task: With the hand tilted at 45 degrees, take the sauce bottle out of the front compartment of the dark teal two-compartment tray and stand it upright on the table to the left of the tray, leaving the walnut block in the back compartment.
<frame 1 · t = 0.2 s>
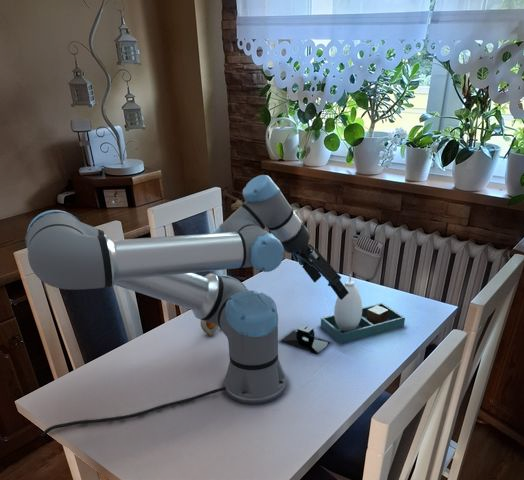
hand: (330, 287, 133), 15 cm above the table, tool tilted 35°, fingers open, 13 cm apart
sauce bottle: (346, 331, 143), resting on tray
walnut block: (376, 322, 146), resting on tray
build plate: (305, 343, 138), on the table
tray: (361, 327, 144), on the table
bird rattle: (214, 332, 145), on the table
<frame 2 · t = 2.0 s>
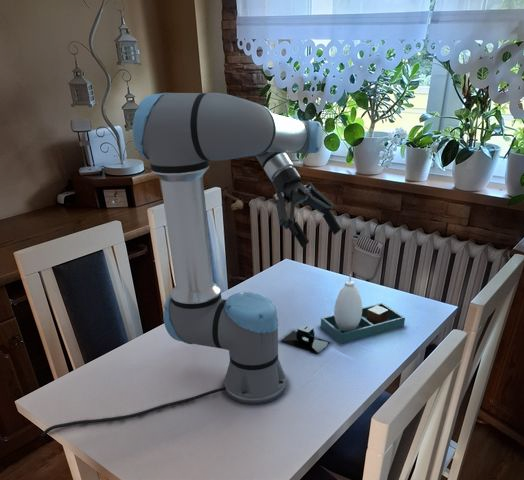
hand: (322, 238, 135), 26 cm above the table, tool tilted 45°, fingers open, 13 cm apart
nothing on the table moved.
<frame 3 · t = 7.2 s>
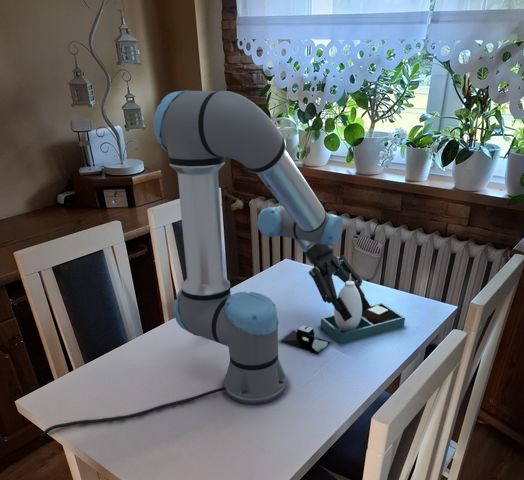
hand: (357, 313, 137), 7 cm above the table, tool tilted 45°, fingers closed on sauce bottle, 8 cm apart
sauce bottle: (346, 331, 143), resting on tray, touching gripper
everything else where it was.
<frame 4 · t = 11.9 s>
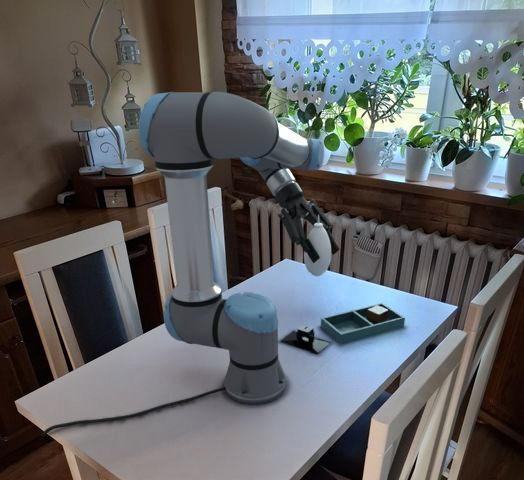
hand: (326, 256, 138), 21 cm above the table, tool tilted 45°, fingers closed on sauce bottle, 8 cm apart
sauce bottle: (317, 275, 144), point 14 cm above the table, touching gripper
everything else where it was.
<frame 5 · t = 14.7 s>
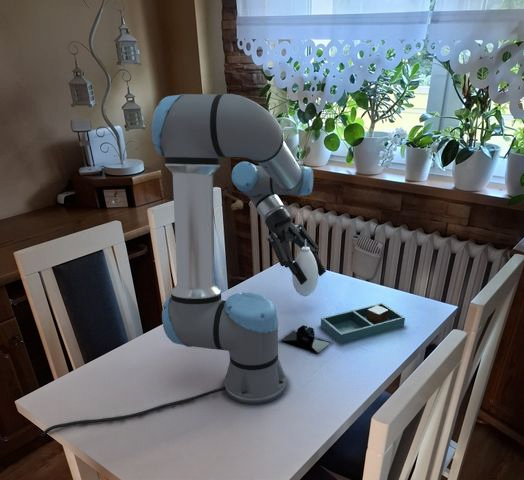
hand: (313, 277, 146), 12 cm above the table, tool tilted 45°, fingers closed on sauce bottle, 8 cm apart
sauce bottle: (305, 295, 152), point 6 cm above the table, touching gripper
everything else where it was.
when the fingers open (7 cm above the table, at t = 16.7 s): sauce bottle stays where it is, on the table.
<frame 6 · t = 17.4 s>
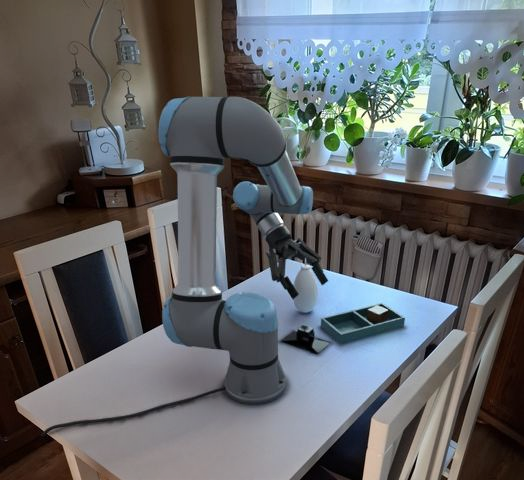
hand: (310, 290, 149), 8 cm above the table, tool tilted 45°, fingers open, 13 cm apart
sauce bottle: (304, 312, 155), on the table
everything else where it was.
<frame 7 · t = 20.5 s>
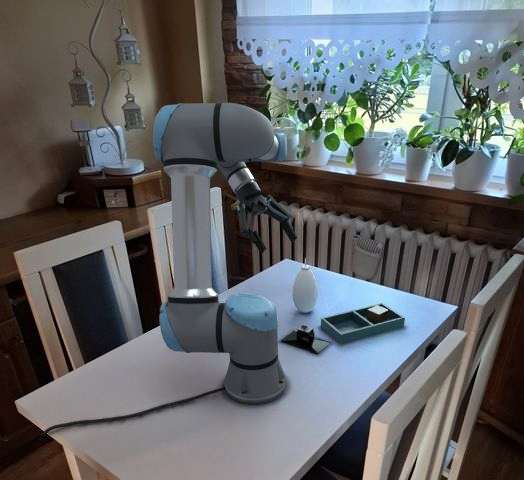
hand: (279, 245, 151), 19 cm above the table, tool tilted 45°, fingers open, 13 cm apart
nothing on the table moved.
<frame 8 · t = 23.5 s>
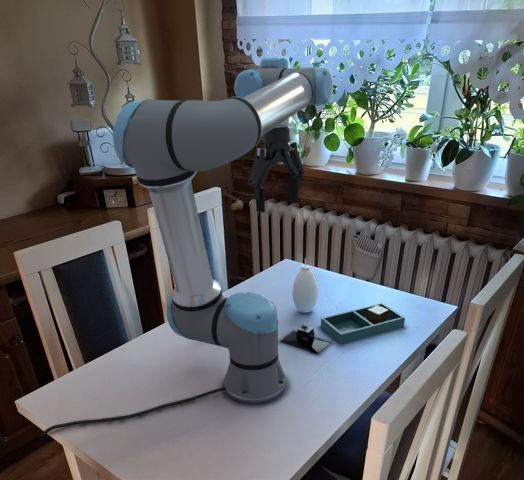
hand: (277, 206, 140), 33 cm above the table, tool pointing down, fingers open, 13 cm apart
nothing on the table moved.
at the end: sauce bottle inside the target area (0.6 cm from its centre), on the table; sauce bottle tilted 0°; the gripper is holding nothing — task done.
